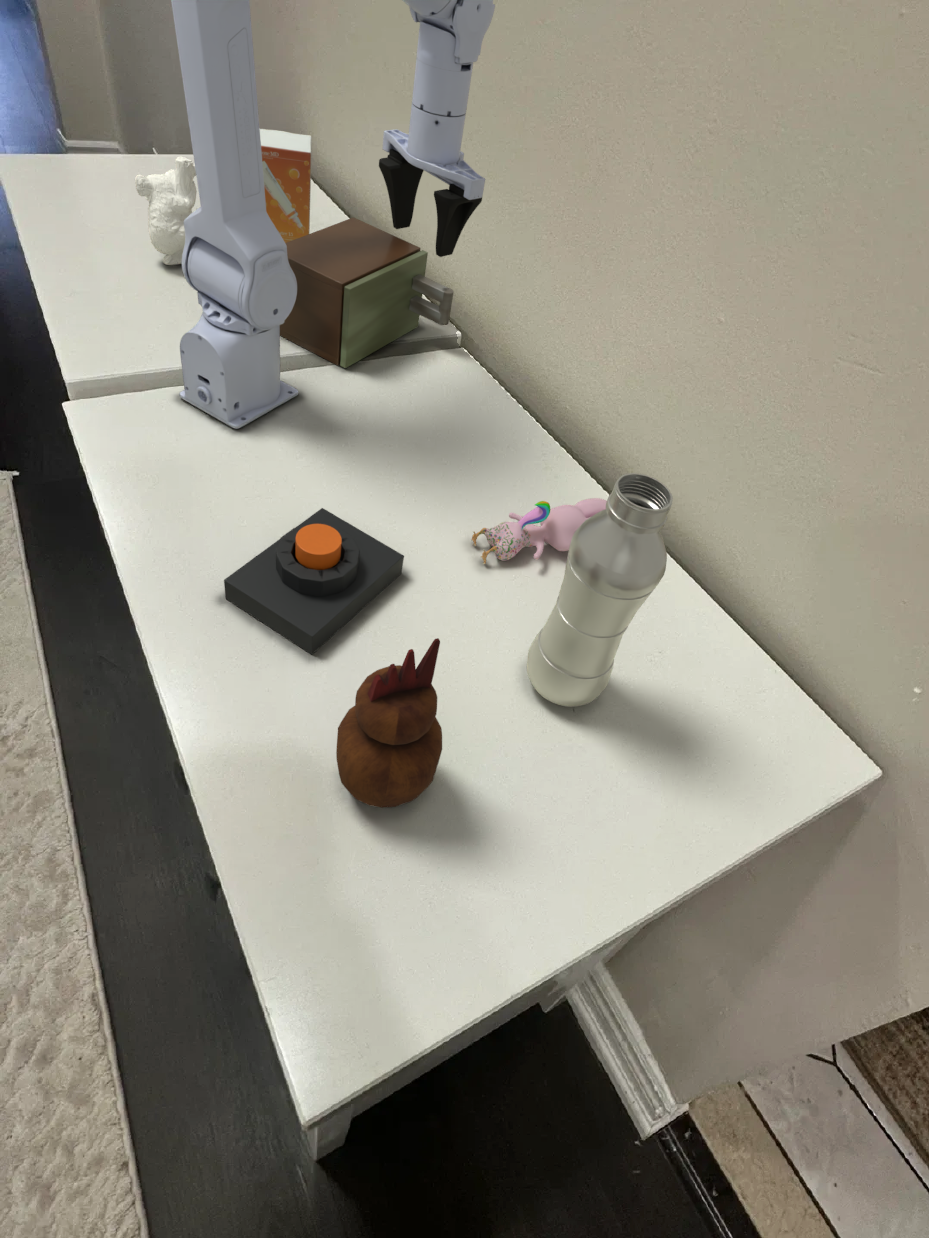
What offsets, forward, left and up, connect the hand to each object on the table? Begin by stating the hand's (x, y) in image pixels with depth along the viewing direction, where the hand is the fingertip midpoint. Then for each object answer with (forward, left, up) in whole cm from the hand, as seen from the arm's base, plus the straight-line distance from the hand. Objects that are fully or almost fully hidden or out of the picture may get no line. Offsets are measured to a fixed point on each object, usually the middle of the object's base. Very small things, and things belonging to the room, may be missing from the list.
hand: (422, 240), depth 90 cm
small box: (+3, +25, -10) cm, 27 cm away
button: (-43, -21, -7) cm, 49 cm away
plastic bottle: (-39, -42, -10) cm, 58 cm away
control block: (-43, -21, -10) cm, 49 cm away
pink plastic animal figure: (-25, -33, -10) cm, 43 cm away
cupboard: (-8, +5, -10) cm, 14 cm away
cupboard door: (-8, -4, -10) cm, 13 cm away
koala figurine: (-11, +29, -10) cm, 32 cm away
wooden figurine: (-55, -36, -10) cm, 67 cm away
